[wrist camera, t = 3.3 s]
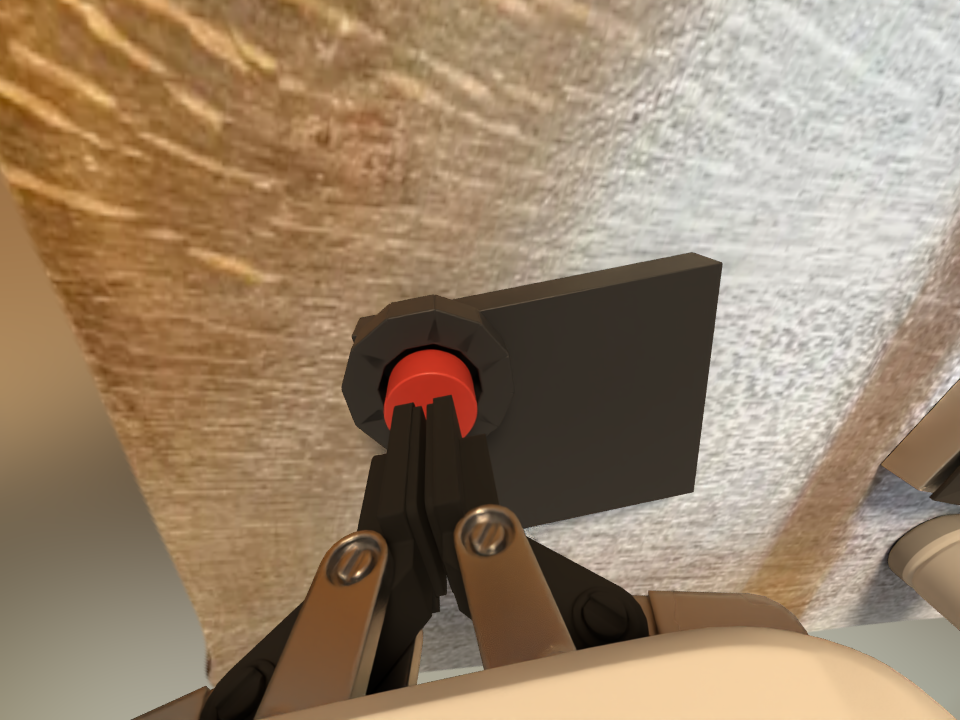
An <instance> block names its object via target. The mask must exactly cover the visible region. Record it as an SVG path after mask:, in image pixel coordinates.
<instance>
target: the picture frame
mask: <svg viewBox="0 0 960 720" xmlns="http://www.w3.org/2000/svg"><path fill="white" fill-rule="evenodd" d="M881 465H882V466H883V467H885V468H886V469H887V470H889V471H890V472H892V473H893V474H895V475H896V476H898V477H899V478H901V479H902V480H904V481H905V482H907V483H908V484H910V485H911V486H913V487H914V488H916V489H917V490H920V491H926V492H931V493H933V494H932V495H931V496H930V497H929V498H931V499H932V500H934V501H939V502H945V503H950V504H956V505H960V380H959V381H958V382H957V383H956V384H955V385H954V386H953V387H952V388H951V389H950V390H949V391H948V393H947V394H946V395H945V396H944V397H943V398H942V399H941V400H940V401H939V402H938V403H937V404H936V405H935V407H934V408H933V409H932V410H931V411H930V412H929V413H928V414H927V415H926V416H925V417H924V418H923V420H922V421H921V422H920V423H919V424H918V425H917V426H916V427H915V428H914V429H913V430H912V431H911V432H910V434H909V435H908V436H907V437H906V438H905V439H904V440H903V441H902V442H901V443H900V444H899V445H898V447H897V448H896V449H895V450H894V451H893V452H892V453H891V454H890V455H889V456H888V457H887V458H886V459H885V461H884V462H883V463H882V464H881Z"/></svg>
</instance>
